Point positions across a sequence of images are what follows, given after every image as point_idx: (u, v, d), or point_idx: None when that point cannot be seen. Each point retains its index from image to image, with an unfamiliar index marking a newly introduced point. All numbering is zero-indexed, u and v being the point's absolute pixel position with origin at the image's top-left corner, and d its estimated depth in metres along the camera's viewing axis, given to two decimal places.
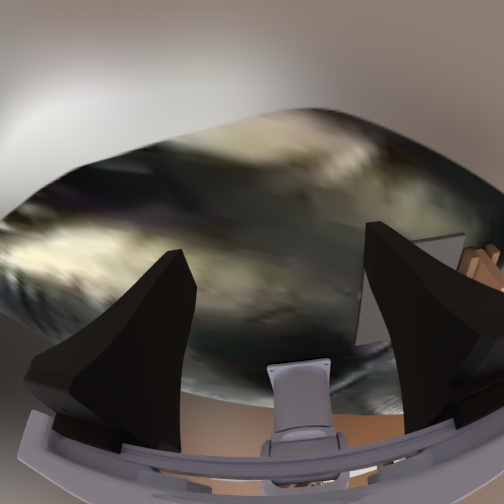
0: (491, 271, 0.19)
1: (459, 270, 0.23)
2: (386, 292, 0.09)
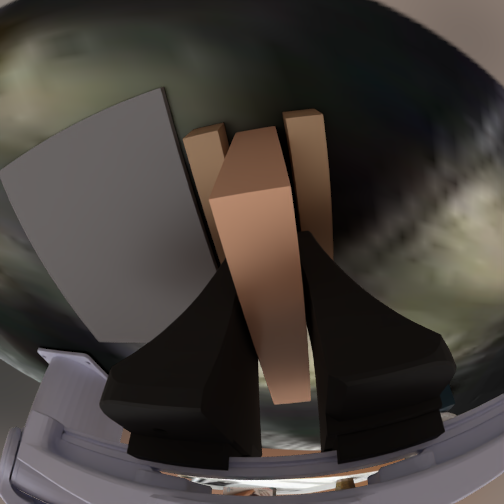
0: (234, 158, 0.07)
1: None
2: (305, 305, 0.09)
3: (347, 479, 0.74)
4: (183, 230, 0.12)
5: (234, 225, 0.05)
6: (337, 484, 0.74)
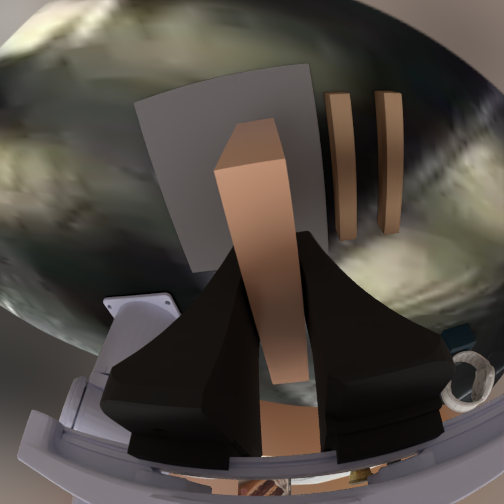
0: (236, 142, 0.08)
1: (329, 133, 0.16)
2: (305, 305, 0.09)
3: None
4: (308, 157, 0.17)
5: (236, 194, 0.06)
6: None
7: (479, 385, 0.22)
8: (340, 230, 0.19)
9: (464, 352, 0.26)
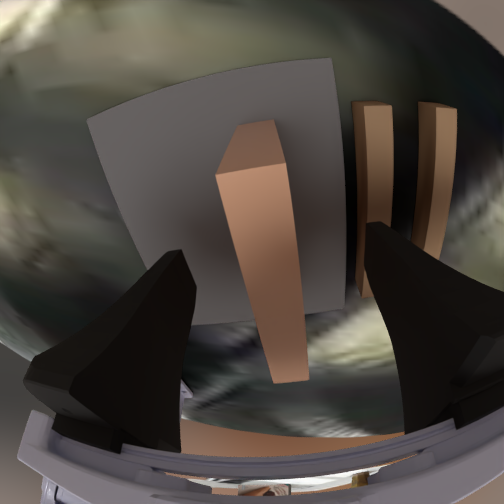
0: (236, 145, 0.08)
1: (357, 159, 0.11)
2: (386, 292, 0.09)
3: (363, 473, 0.74)
4: (327, 193, 0.12)
5: (237, 198, 0.06)
6: (353, 478, 0.75)
7: None
8: (363, 286, 0.14)
9: None
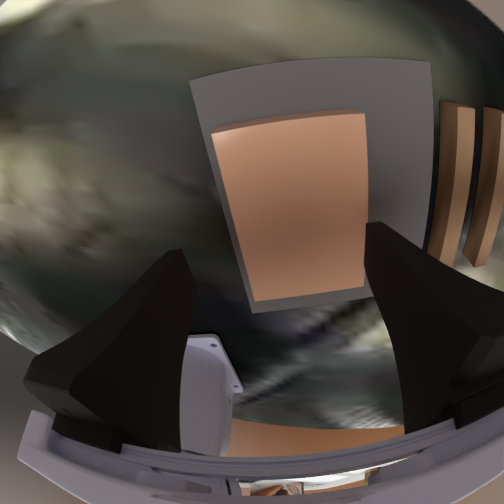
0: (272, 117, 0.11)
1: (442, 150, 0.11)
2: (386, 292, 0.09)
3: (376, 468, 0.74)
4: (418, 178, 0.12)
5: None
6: (366, 474, 0.74)
7: None
8: None
9: None
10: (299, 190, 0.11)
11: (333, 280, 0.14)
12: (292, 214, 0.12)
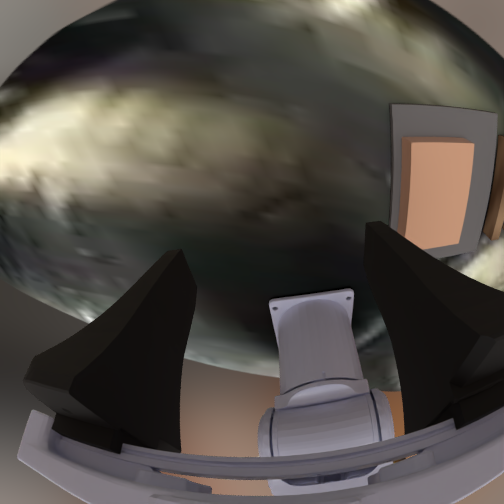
0: (430, 137, 0.16)
1: (497, 163, 0.16)
2: (386, 292, 0.09)
3: None
4: (486, 179, 0.17)
5: (403, 146, 0.16)
6: None
7: None
8: (493, 232, 0.19)
9: None
10: (442, 181, 0.16)
11: (445, 238, 0.19)
12: (437, 194, 0.17)
